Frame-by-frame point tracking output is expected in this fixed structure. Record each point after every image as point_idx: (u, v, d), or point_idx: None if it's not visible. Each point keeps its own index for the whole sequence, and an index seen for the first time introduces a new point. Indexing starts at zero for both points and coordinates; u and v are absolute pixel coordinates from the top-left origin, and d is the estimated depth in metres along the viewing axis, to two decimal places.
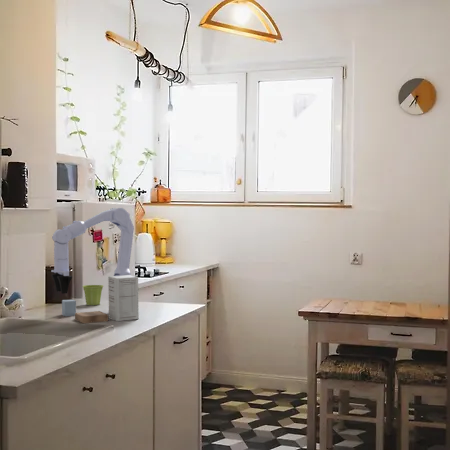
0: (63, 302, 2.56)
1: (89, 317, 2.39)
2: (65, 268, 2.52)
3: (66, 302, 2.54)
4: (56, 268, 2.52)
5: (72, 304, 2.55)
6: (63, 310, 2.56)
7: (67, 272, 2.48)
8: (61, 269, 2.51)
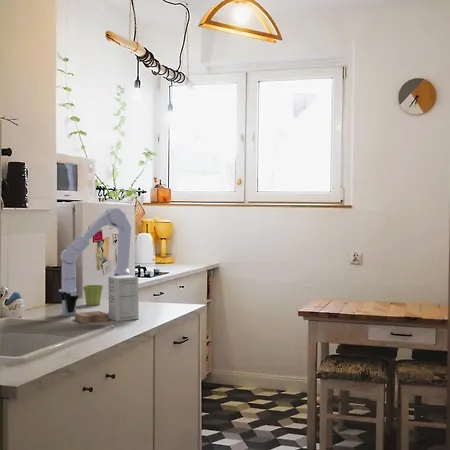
0: (63, 302, 2.56)
1: (89, 317, 2.39)
2: (72, 288, 2.55)
3: None
4: (63, 288, 2.54)
5: None
6: (63, 310, 2.56)
7: (74, 292, 2.51)
8: (68, 289, 2.54)
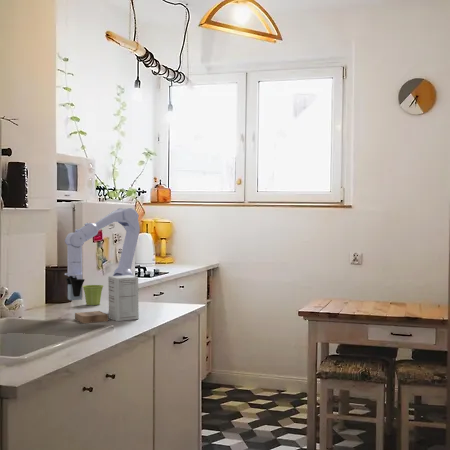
0: (69, 286, 2.52)
1: (89, 317, 2.39)
2: (78, 271, 2.51)
3: None
4: (69, 271, 2.51)
5: None
6: (69, 294, 2.52)
7: (80, 275, 2.47)
8: (74, 272, 2.50)
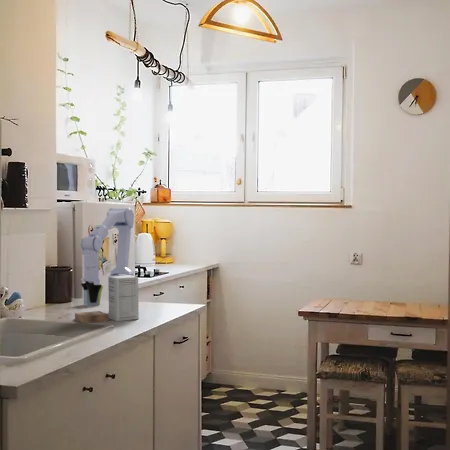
0: (85, 292, 2.43)
1: (89, 317, 2.39)
2: (95, 276, 2.42)
3: (88, 292, 2.41)
4: (86, 276, 2.42)
5: None
6: (85, 300, 2.43)
7: (98, 281, 2.38)
8: (91, 278, 2.41)
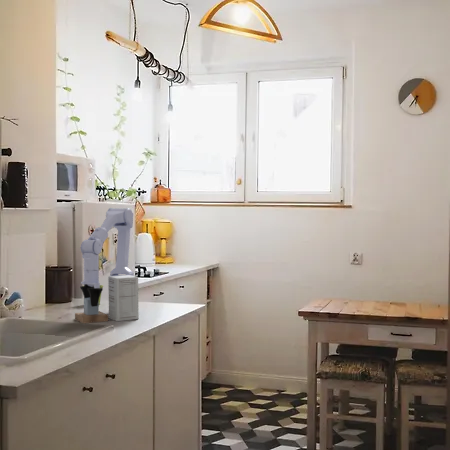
0: (85, 300, 2.43)
1: (89, 317, 2.39)
2: (95, 280, 2.42)
3: (88, 300, 2.41)
4: (86, 280, 2.42)
5: None
6: (85, 308, 2.43)
7: (98, 284, 2.38)
8: (91, 281, 2.41)
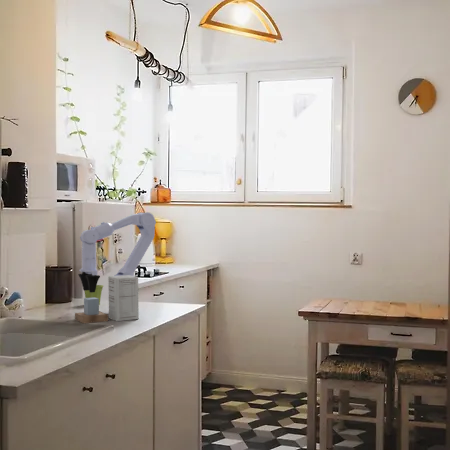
0: (85, 300, 2.43)
1: (89, 317, 2.39)
2: (93, 267, 2.58)
3: (89, 300, 2.41)
4: (84, 267, 2.57)
5: (95, 302, 2.42)
6: (85, 309, 2.43)
7: (95, 271, 2.54)
8: (89, 268, 2.57)
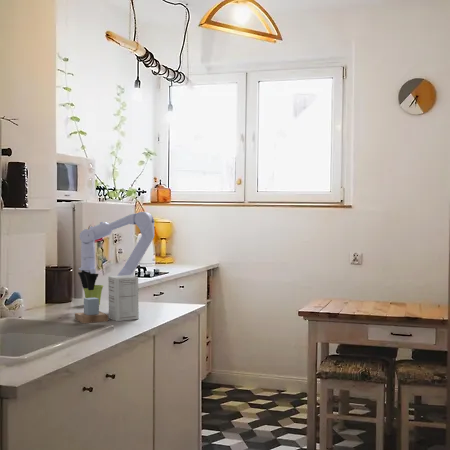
0: (85, 300, 2.43)
1: (89, 317, 2.39)
2: (92, 266, 2.65)
3: (89, 300, 2.41)
4: (83, 266, 2.64)
5: (95, 302, 2.43)
6: (85, 309, 2.43)
7: (94, 270, 2.61)
8: (88, 267, 2.64)
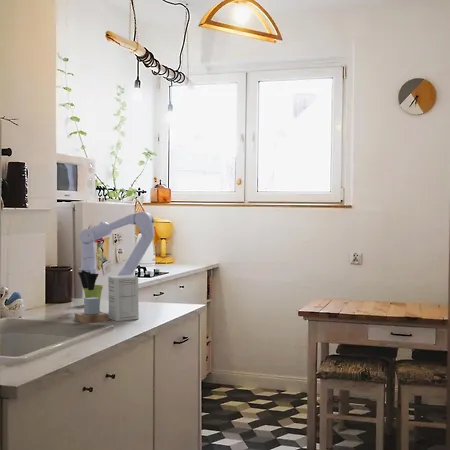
0: (86, 300, 2.43)
1: (89, 317, 2.39)
2: (92, 266, 2.65)
3: (90, 300, 2.42)
4: (83, 266, 2.64)
5: (95, 302, 2.43)
6: (86, 308, 2.43)
7: (94, 270, 2.61)
8: (88, 267, 2.64)
